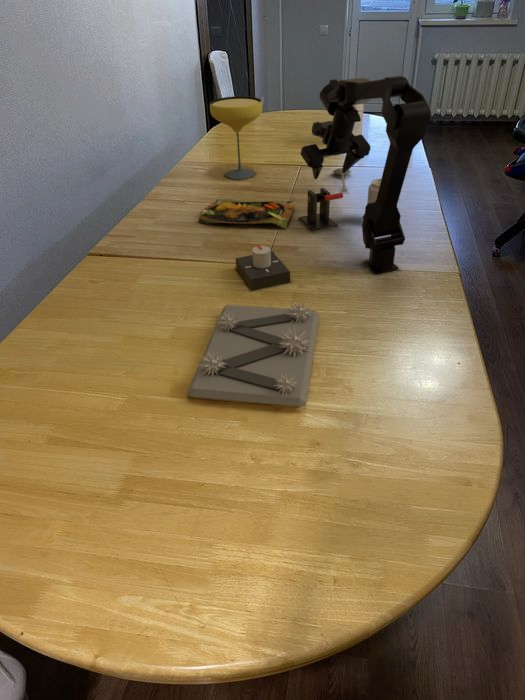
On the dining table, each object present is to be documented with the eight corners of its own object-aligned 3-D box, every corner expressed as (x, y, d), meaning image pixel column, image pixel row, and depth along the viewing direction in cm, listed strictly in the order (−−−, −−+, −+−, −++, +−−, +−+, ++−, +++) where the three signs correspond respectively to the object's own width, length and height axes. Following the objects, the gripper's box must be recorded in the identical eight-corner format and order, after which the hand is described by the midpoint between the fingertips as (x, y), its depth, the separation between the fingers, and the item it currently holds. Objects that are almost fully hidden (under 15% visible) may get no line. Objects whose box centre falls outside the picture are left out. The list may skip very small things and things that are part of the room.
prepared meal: (194, 213, 154) (214, 190, 168) (195, 224, 156) (215, 201, 170) (286, 223, 148) (299, 199, 162) (285, 234, 150) (298, 210, 164)
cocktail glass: (271, 178, 188) (270, 103, 173) (224, 186, 183) (218, 110, 168) (254, 164, 201) (251, 94, 186) (209, 171, 196) (203, 99, 181)
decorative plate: (224, 312, 117) (221, 284, 112) (319, 318, 113) (320, 289, 109) (186, 401, 93) (181, 371, 89) (305, 412, 90) (305, 381, 85)
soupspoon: (350, 173, 190) (332, 175, 191) (350, 164, 189) (332, 165, 189) (354, 193, 172) (334, 194, 173) (354, 182, 171) (334, 184, 171)
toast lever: (343, 199, 140) (342, 190, 139) (327, 202, 139) (326, 193, 138) (324, 200, 151) (323, 192, 151) (309, 203, 150) (308, 194, 149)
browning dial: (273, 266, 127) (273, 250, 124) (256, 269, 126) (255, 253, 123) (267, 258, 130) (266, 243, 127) (250, 262, 129) (249, 246, 126)
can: (391, 227, 150) (396, 186, 143) (365, 226, 151) (368, 185, 144) (391, 217, 156) (396, 177, 149) (366, 216, 157) (369, 176, 150)
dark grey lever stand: (337, 227, 151) (339, 195, 145) (312, 232, 149) (313, 199, 143) (322, 215, 159) (323, 184, 153) (298, 220, 157) (299, 188, 151)
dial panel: (290, 282, 126) (290, 270, 124) (251, 290, 124) (250, 278, 122) (272, 261, 135) (272, 250, 134) (236, 268, 133) (235, 257, 131)
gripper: (358, 102, 139) (344, 151, 153) (296, 114, 134) (287, 163, 147) (378, 128, 134) (362, 176, 148) (315, 141, 129) (304, 189, 142)
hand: (329, 175), depth 146 cm, fingers open, 9 cm apart
